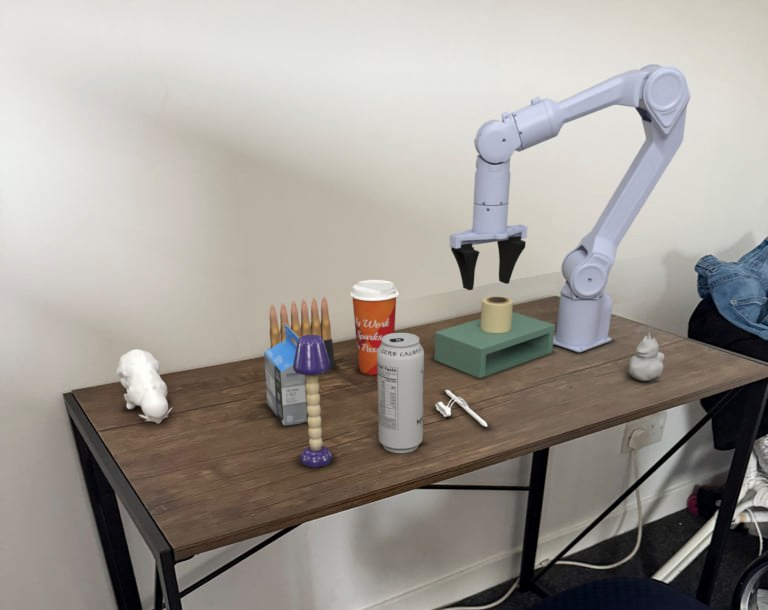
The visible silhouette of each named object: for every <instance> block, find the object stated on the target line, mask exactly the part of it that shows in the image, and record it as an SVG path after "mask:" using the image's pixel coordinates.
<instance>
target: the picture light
mask: <svg viewBox="0 0 768 610" xmlns="http://www.w3.org/2000/svg"><path fill="white" fill-rule="evenodd" d="M444 392H445V394H446V396H448V397H449V398H451V399H450V400H449V401H448V403H447V405H445V404H444V403H443V401H438V402H435V404H434V405H435V408H436V410H437V411H438V412H440V414H442V415H443V417H444V418H447V417H448V418H449V417H451V416H452V412H451V411H452V409H451V408H452V406H453V404H454V403H456V404H457V405H459V406H460V407H461V408H462V409H463V410H464V411H465V412H466V413H467V414H469V415H470V416H471V417H472V418H473V419H474V420H476V421H477V423H479V425H481V426H483V427H485V428H488V422H487V421H485V420H484V419H483V418H481V417H480V416H479V415H478V414H477V413H476V412H475V411H474V410H473V409H471V408H470V407H469V404H467V401H466V400H464V398H463V397H460V396H456V395H455V394H454V393H453V392H452V391H451V390H449V389H445V391H444ZM452 401H453V402H452ZM450 403H451V404H450Z"/></svg>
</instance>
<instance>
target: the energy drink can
mask: <svg viewBox="0 0 768 610" xmlns="http://www.w3.org/2000/svg"><path fill="white" fill-rule="evenodd" d="M420 340H421V339H420V337H419V336H418V335H416V334H414V333H408V332H395V333H392V334H388V335H385V336H384V337H382V343H381V345H380V347H379V349H378V351H377V375H376V376H377V415H378V416H377V418H378V419H377V421H378V422H377V423H378V424H377V425H378V426H377V427H378V442H379V443H380V444H381V445H382V448H383V449H384V450H385V451H388V452H390V453H394V454H407V453H408V454H409V453H411V452H414V451H415V450H417V449H418V448H419V446H420V444H421V443H422V442H423V440H424V392H425V391H424V390H425V389H424V385H425V383H424V382H425V380H424V379H425V350H424V348H423V347H422V344H421V343H420Z"/></svg>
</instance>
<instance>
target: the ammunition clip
mask: <svg viewBox="0 0 768 610" xmlns="http://www.w3.org/2000/svg"><path fill="white" fill-rule="evenodd" d="M286 307H287V306H286V305H285V303H284V302H282V303H281V306H280V312H279V313H280V314H279V317H280V326H279V322H278V315H277V312H276V311H277V310H276V307H275V306H274V304H271V305H270V309H269V341H270V348H272V347H274V346H276V345H277V344H279V343H281V342H282V341H284V340H285V339H286V334H285V327H284V323H285V324H286V325H287V326H288V327H289V328H290V329H291V330H292V331H293V332H294V333H295V334H296V335H297V336H298V337H299V338H300V337H301V336H304V335H318V336H321V337H322V339H323V341H324V344H325V347H326V350H327V354H328V357H329V360H330V364H331V368H330V370H334V369H335V368H336V364H335V363H336V361H335V354H334V344H333V339H332V330H331V329H332V327H331V321H330V313H329V306H328V301H327V298H326V297H325V296H323V297H322V299H321V305H320V314H319V307H318V304H317V301H316V299H315V297H314V298H313V297H312V301H311V305H310V317H309V309H308V304H307V302H306V300H305V299H303V300H302V301H301V306H300V319H299V311H298V307H297V305H296V302H295V301H292V302H291V306H290V323H289V316H288V311H287V308H286ZM319 315H320V316H319ZM279 327H280V328H279ZM291 338H292V337H291ZM292 341H293V342H294V343H295V344H296V345H297V343H296V341H295V340H294V337H293V338H292ZM270 348H269V349H270Z"/></svg>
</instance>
